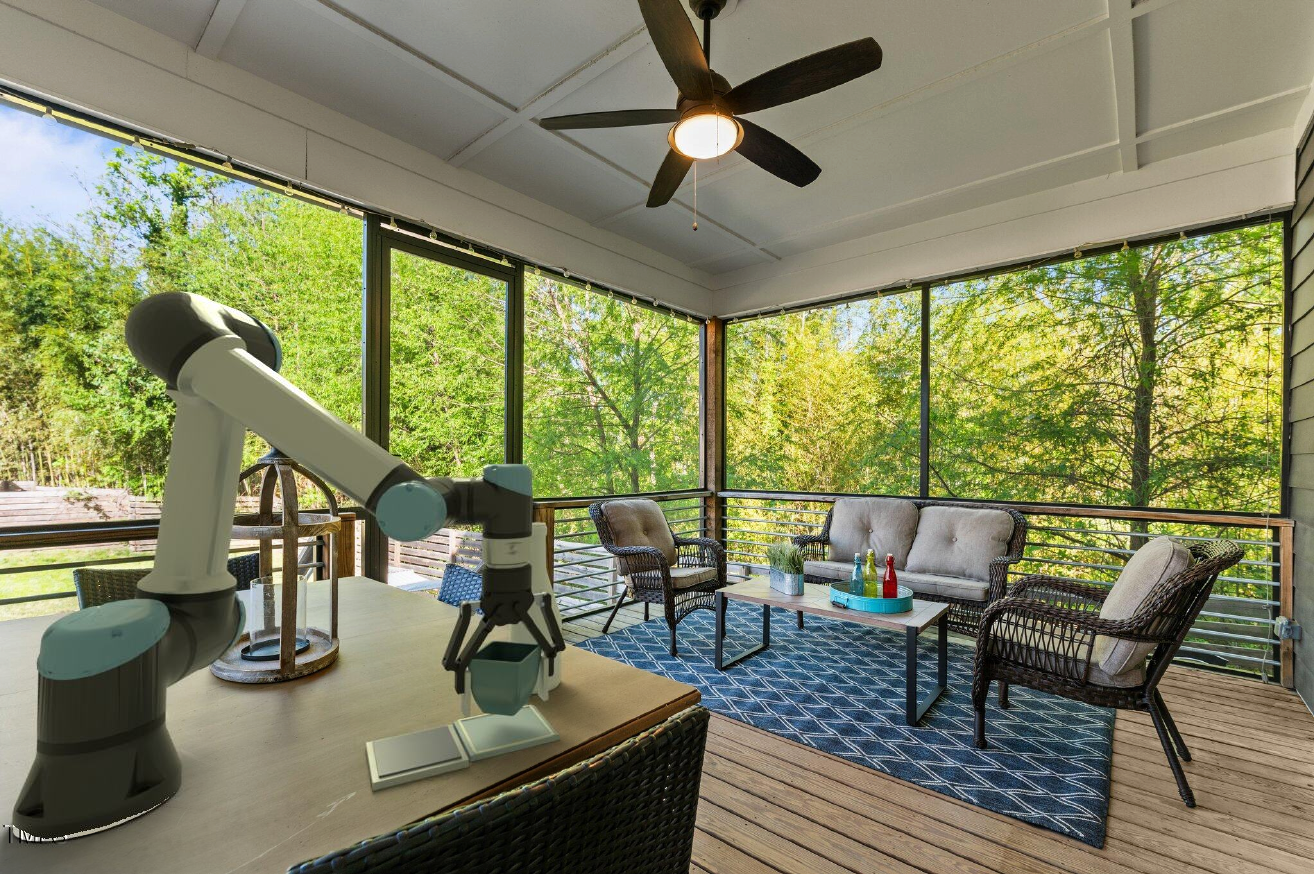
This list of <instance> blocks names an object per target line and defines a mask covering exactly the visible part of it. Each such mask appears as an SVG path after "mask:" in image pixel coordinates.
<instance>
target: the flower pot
mask: <svg viewBox="0 0 1314 874" xmlns="http://www.w3.org/2000/svg"><path fill="white" fill-rule="evenodd" d="M541 652H542V648H541V646H540V645H539V644H534V643H519V642H509V640H507V641H506V640H505V641H504V640H491V641H489V642H488V643H486V644H485V645H484V646H483V647H480V648H479V650H478V651H477V653H476V654H475V656H474V658H473V659H472V661H471V662H470V664H469V665H468V667H467V668H468V671H470V672H471V694H472V697H473V700H474V702H475V704H476V705H477V707H478V708H479V709H480V710H481V712H482V713H483V714H496V715H505V716H514V715H516V714H517V712H518V711H519V710H520V709H521V708H522V707H523V706H526V704H527V703H528V701H529V699H530V697H531V696H532V695H533V694H532V692H533V689H534V687H535V685H536V682H537V678H538V674H539V667H540V659H541Z"/></svg>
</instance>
